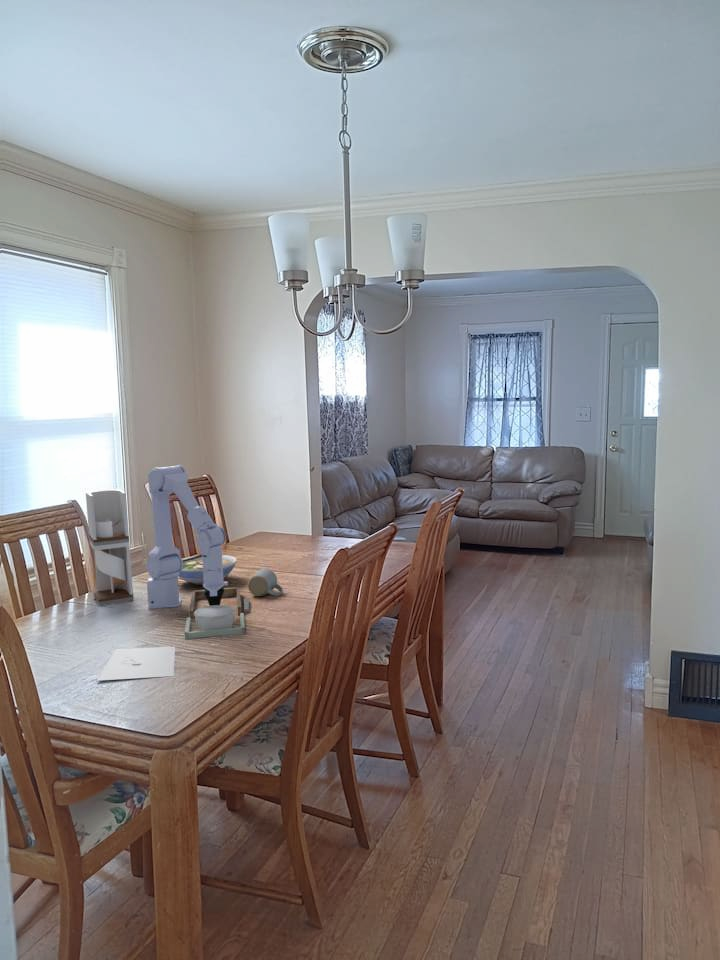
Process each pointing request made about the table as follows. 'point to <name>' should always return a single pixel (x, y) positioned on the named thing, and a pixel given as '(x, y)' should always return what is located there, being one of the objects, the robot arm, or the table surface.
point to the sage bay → (214, 632)
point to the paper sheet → (139, 663)
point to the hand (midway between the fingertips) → (215, 613)
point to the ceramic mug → (264, 583)
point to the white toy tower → (110, 545)
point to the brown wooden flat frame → (227, 592)
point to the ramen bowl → (194, 568)
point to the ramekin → (214, 617)
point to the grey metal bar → (246, 605)
